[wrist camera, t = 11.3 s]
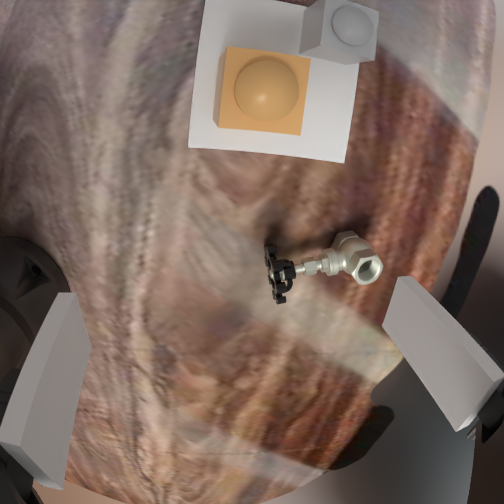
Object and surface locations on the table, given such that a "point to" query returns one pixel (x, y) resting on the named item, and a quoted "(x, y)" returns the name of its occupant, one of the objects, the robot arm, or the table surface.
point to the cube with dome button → (339, 32)
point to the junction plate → (281, 41)
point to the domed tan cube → (260, 91)
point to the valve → (325, 263)
